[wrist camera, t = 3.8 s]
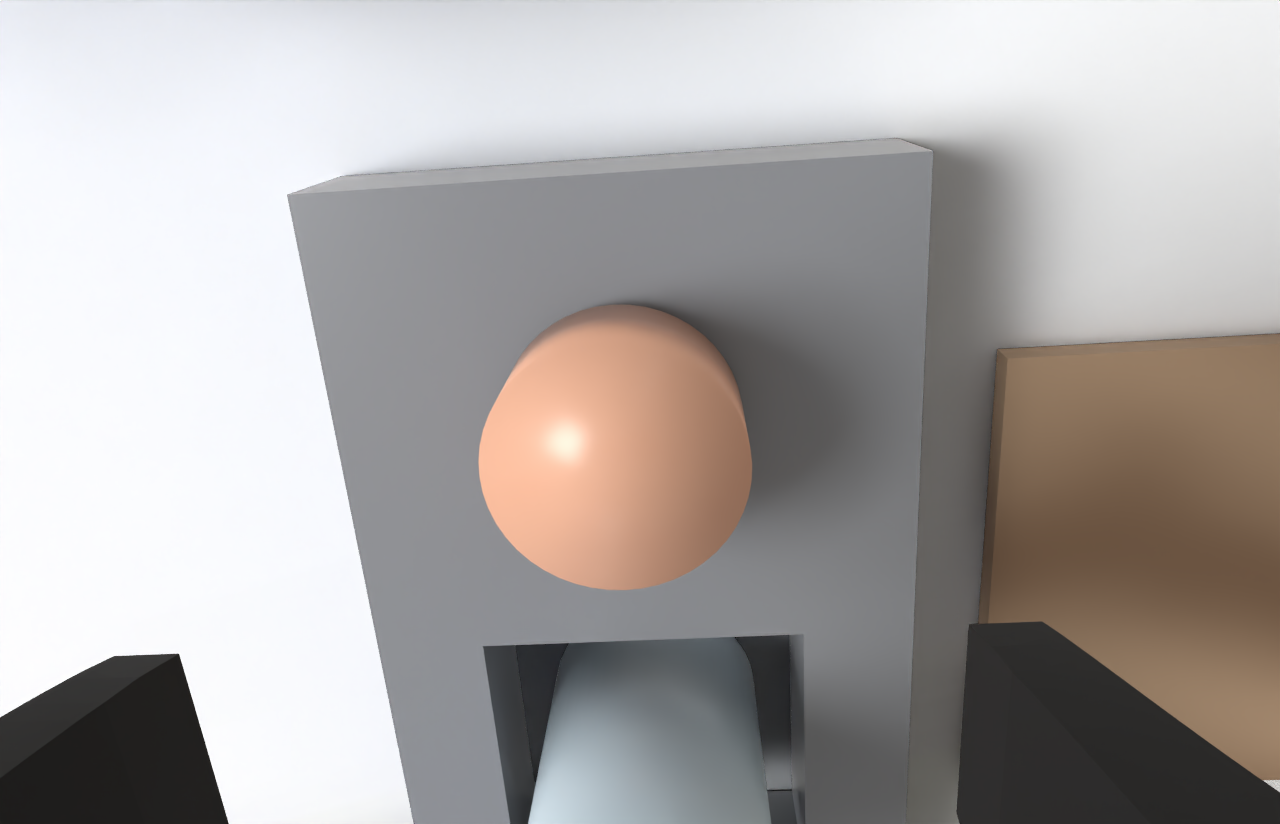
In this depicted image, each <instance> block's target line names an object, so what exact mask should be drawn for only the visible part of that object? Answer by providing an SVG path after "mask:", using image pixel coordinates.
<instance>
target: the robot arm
mask: <svg viewBox="0 0 1280 824" xmlns="http://www.w3.org/2000/svg"><path fill="white" fill-rule="evenodd" d="M957 815H958V819H959V823H960V824H1280V792H1278V791H1277V790H1275V789H1274V788H1273V787H1271V786H1270V785H1268V784H1267V783H1265V782H1264V781H1263V780H1261V779H1260V778H1258V777H1257V776H1255V775H1254V774H1253V773H1251V772H1250V771H1248V770H1247V769H1246V768H1244V767H1243V766H1241V765H1240V764H1239V763H1237V762H1236V761H1234V760H1233V759H1231V758H1230V757H1229V756H1227V755H1226V754H1224V753H1223V752H1222V751H1220V750H1219V749H1217V748H1216V747H1215V746H1213V745H1212V744H1210V743H1209V742H1208V741H1206V740H1205V739H1204V738H1202V737H1201V736H1199V735H1198V734H1197V733H1195V732H1194V731H1193V730H1191V729H1190V728H1188V727H1187V726H1186V725H1184V724H1183V723H1182V722H1180V721H1179V720H1177V719H1176V718H1175V717H1173V716H1172V715H1171V714H1169V713H1168V712H1167V711H1165V710H1164V709H1162V708H1161V707H1160V706H1158V705H1157V704H1156V703H1154V702H1153V701H1152V700H1150V699H1149V698H1148V697H1146V696H1145V695H1143V694H1142V693H1141V692H1139V691H1138V690H1137V689H1135V688H1134V687H1133V686H1131V685H1130V684H1129V683H1127V682H1126V681H1125V680H1123V679H1122V678H1121V677H1119V676H1118V675H1116V674H1115V673H1114V672H1112V671H1111V670H1110V669H1108V668H1107V667H1106V666H1104V665H1103V664H1102V663H1100V662H1099V661H1098V660H1096V659H1095V658H1093V657H1092V656H1091V655H1089V654H1088V653H1087V652H1085V651H1084V650H1083V649H1081V648H1080V647H1078V646H1077V645H1076V644H1074V643H1073V642H1071V641H1070V640H1069V639H1067V638H1066V637H1064V636H1063V635H1062V634H1060V633H1059V632H1057V631H1056V630H1054V629H1053V628H1051V627H1050V626H1048V625H1047V624H1045V623H1044V622H1042V621H1038V622H1012V623H985V624H969V630H968V646H967V661H966V676H965V692H964V707H963V722H962V737H961V753H960V768H959V783H958V799H957ZM0 824H229V823H228V820H227V817H226V813H225V810H224V806H223V803H222V799H221V796H220V793H219V789H218V786H217V782H216V779H215V775H214V772H213V769H212V765H211V762H210V758H209V755H208V752H207V748H206V745H205V741H204V738H203V734H202V731H201V728H200V724H199V721H198V717H197V714H196V711H195V707H194V704H193V700H192V697H191V693H190V690H189V687H188V683H187V680H186V676H185V673H184V669H183V666H182V663H181V659H180V656H179V654H161V655H134V656H114V657H112V658H109V659H107V660H105V661H103V662H101V663H99V664H97V665H95V666H93V667H91V668H89V669H86V670H85V671H83V672H81V673H79V674H77V675H75V676H73V677H71V678H69V679H67V680H66V681H64V682H62V683H60V684H58V685H56V686H55V687H53V688H51V689H49V690H47V691H46V692H44V693H42V694H40V695H39V696H37V697H35V698H33V699H31V700H30V701H28V702H26V703H24V704H23V705H21V706H19V707H17V708H16V709H14V710H12V711H11V712H9V713H7V714H5V715H4V716H2V717H0Z"/></svg>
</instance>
